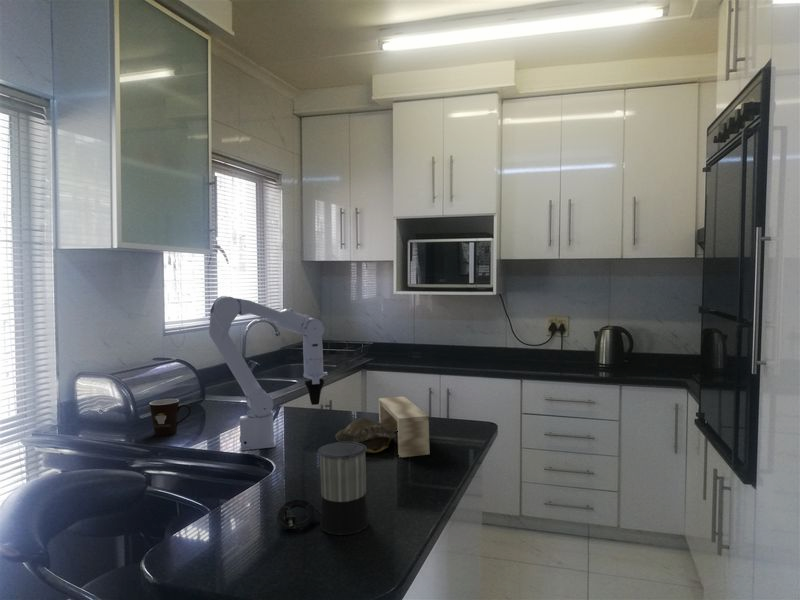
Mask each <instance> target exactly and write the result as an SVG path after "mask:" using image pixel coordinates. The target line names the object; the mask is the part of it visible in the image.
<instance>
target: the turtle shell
mask: <svg viewBox="0 0 800 600" xmlns="http://www.w3.org/2000/svg"><path fill="white" fill-rule="evenodd" d="M334 438H335V439H336V440H337V442H345V441H347V442H357V443H361V444H363V445H365V446H366V448H367V449H366V451H365V453H370V454H377V453H380V452H382V451H384V450H385V449H387V448H389V447H390V446H389V444H390V443H391V442H392V440H393V439H395V438H397V433H396V432H393V431H392V430H391V429H390V428H389V427H388V426H386V425H384V424H382V423H380V422H379V421H377V420H375V419H372V418H368V417H360V418H357V419H354V421H352V422H350V423H349V424H347V425H346V426H345V428H344V429H340V430H338V431H337V433H335V435H334Z"/></svg>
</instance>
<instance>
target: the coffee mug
mask: <svg viewBox="0 0 800 600" xmlns="http://www.w3.org/2000/svg"><path fill="white" fill-rule="evenodd" d="M184 407H185V408H187V409H188V413H187V415H186V416H185V417H183V418H182V419H181V420H179V421H178V419H179V412H180V410H181V408H184ZM149 409H150V410H149V411H150V415H151V416H150V417H151V421H152V427H153V433H154V436H157V437H167V436H172V435H175V434H176V433H178V432H177V431H178V425H179V424H180V423H182V422H183V421H185V420H186V419H187V418H189V416H190V414H191V413H192V409H191V407H190V406H189V405H187V404H182V405H180V399H178V398H164V399H157V400H153V401H150V402H149Z"/></svg>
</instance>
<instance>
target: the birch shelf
mask: <svg viewBox="0 0 800 600" xmlns="http://www.w3.org/2000/svg"><path fill="white" fill-rule="evenodd" d="M429 417H430V416H429V415H428V414H426V412H424V411H423V410H422V409H420V408H419V407H418V406H417V405H415V404H414V403H413V401H410V400H409V399H408V398H407V397H405V396H391V397H380V398H378V418H379V420H378V422H380V423H382V424H384V425H386V426H388V427H389V428H390V429H391V430H392V431H393V430H397V431H398V432H397V456H398V455H399V456H398V457H399V458H400V457H401V458H408V457H417V456H419V457H420V456H425V455H426V456H427V455H431V454H430V453H431V452H430V423H429Z"/></svg>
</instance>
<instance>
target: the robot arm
mask: <svg viewBox="0 0 800 600" xmlns="http://www.w3.org/2000/svg"><path fill="white" fill-rule="evenodd" d="M209 312H210V314H209V315H210V316H209V325H208V326H209V327H208V328H209V329H208V334H209V337H210V338H211V341H212V342H213V343H214V345H215V347H216V348H217V350H218V352H219V353H220V355H221V356H222V358H223V360H224V361H225V363H226V365H227V366H228V368H229V369H230V372H231V373H232V375H233V376H234V378H235V380H236V382H237V383H238V385H239V386H240V388H241V390H242V392H243V393H244V395H245V402H246V405H247V406H248V408H249V409H248V410H247V412H246V414H245V415H240V416H239V432H240V433H239V434H240V435H239V443H240V451H250V449H251V450H258V449H270V448H271V449H272V448H276V447H277V444H276V443H277V442H276V438H275V434H274V432H275V431H274V411H273V408H274V400H273V399H274V398H272V397H271V396H270V395H269V394H268V393H267V392H266V390H264V389H263V388H262V387H261V385H260V384H259V382H258V380H257V379H256V377H255V376H254V374H253V373H252V371H251V369H250V367H249V365H248V364H247V362H246V360H245V359H244V357H243V356H242V354H241V352H240V350H239V349H238V347H237V346H236V343H235V342H234V340H233V339H232V337H231V335H230V334H229V331H230V329H231V326H232V324H233V321H234V320H235V319H237V318H236V317H238V315H239V316H244V315H245V316H247V315H254V316H258V317H261V318H264V319H267V320H270V321H273V322H275V323H276V324H277V326H278V328H280V329H283V330H286V331H289V332H292V333H295V334H298V335H300V334H301V335H302V342H303V343H302V350H303V351H302V352H303V378H305V379H306V380H304V382H303V383H304V384H305V386H306V388H307V391H308V395H309V401H310V404H311V405H312V406H315V405H320V399H321V393H322V389H323V386H324V384H325V381H324V378H323V377H325V376H328V371H324V353H323V352H324V350H323V349H324V348H323V347H324V346H323V335H324V333H325V330H326V329H325V327H324V323H322V321H321V320H320V319H317V318H313V317H311V316H310V315H309V314H307V313H306V314H302V313H299V312H297V311H295V309H293V308H291V307H290V308H289V309H288V308H284V309H282V310H276V309H273V308H270V307H268V306H266V305H263V304H261V303H257V302H255V301H252V300H249V299H244V298H237V297H236V298H235V297H233V296H229V295H228V296H227V295H221V296H219V297H216V299H215V300H214V302H213V304H212V306H211V308H210V311H209Z"/></svg>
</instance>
